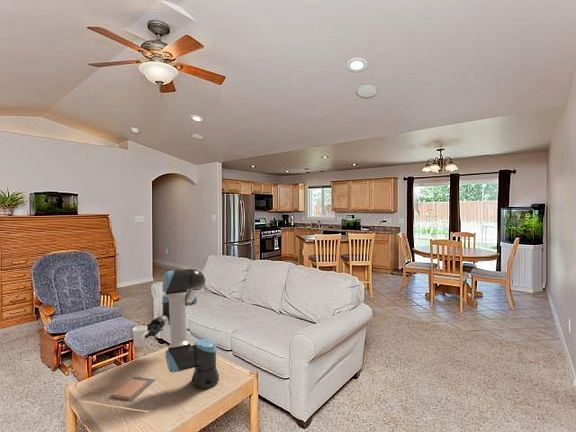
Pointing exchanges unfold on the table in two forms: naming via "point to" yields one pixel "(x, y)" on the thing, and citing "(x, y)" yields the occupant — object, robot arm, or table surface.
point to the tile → (130, 389)
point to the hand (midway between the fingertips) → (134, 338)
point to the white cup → (137, 333)
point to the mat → (149, 382)
